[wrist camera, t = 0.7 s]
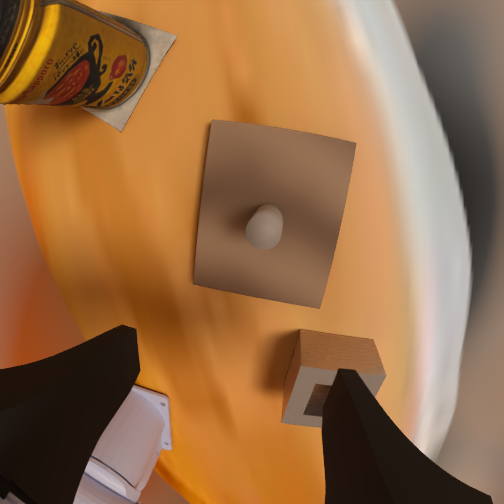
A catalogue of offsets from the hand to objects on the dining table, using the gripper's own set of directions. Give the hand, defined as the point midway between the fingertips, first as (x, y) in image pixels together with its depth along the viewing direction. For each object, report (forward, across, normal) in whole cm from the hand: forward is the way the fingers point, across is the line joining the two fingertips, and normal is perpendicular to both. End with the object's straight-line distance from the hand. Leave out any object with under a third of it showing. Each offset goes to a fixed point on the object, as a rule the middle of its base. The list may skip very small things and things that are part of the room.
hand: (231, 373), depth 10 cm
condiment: (+10, +12, -13) cm, 21 cm away
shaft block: (+10, 0, -4) cm, 10 cm away
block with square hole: (+10, -6, +6) cm, 13 cm away
